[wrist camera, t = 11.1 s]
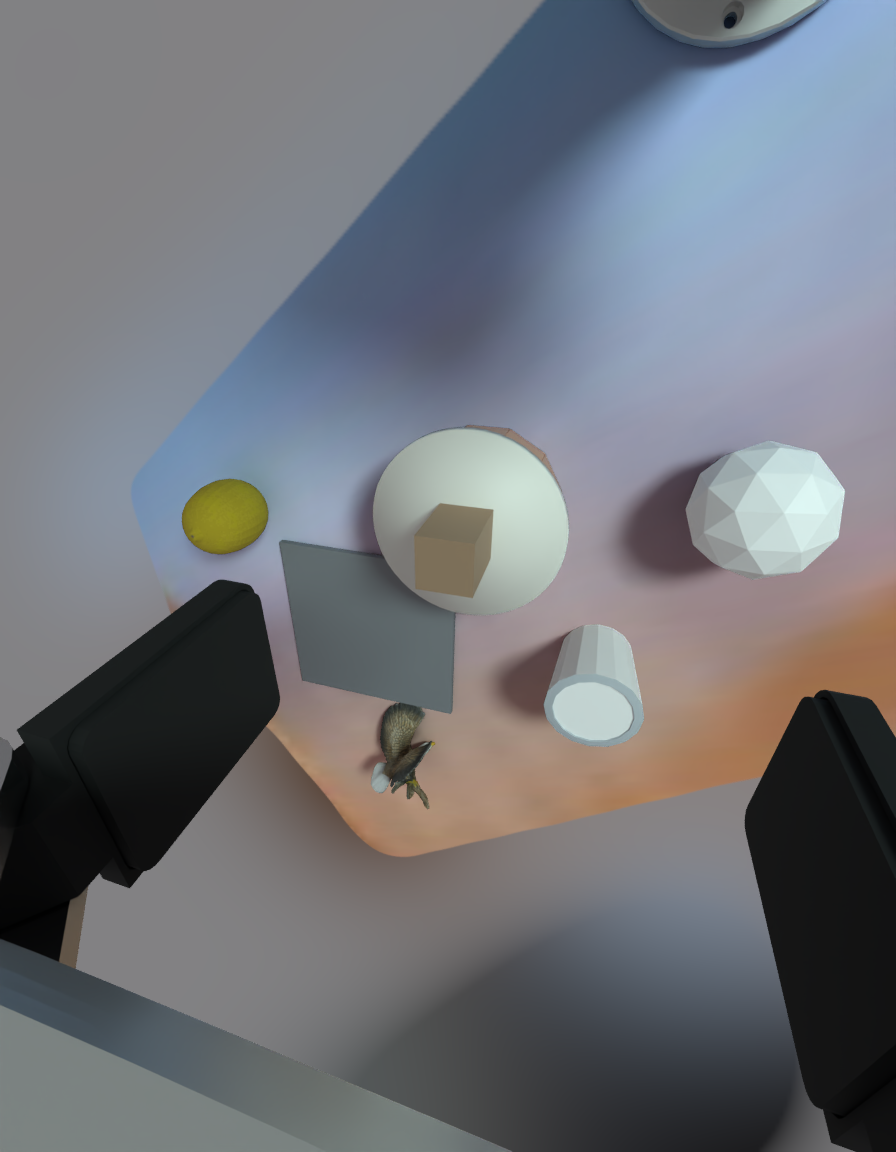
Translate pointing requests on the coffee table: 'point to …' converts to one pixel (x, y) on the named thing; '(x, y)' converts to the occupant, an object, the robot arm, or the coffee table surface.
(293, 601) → the mat
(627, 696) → the shot glass
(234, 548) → the lemon
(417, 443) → the lid
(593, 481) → the coffee table surface
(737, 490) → the geometric ball
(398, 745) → the eagle figurine
